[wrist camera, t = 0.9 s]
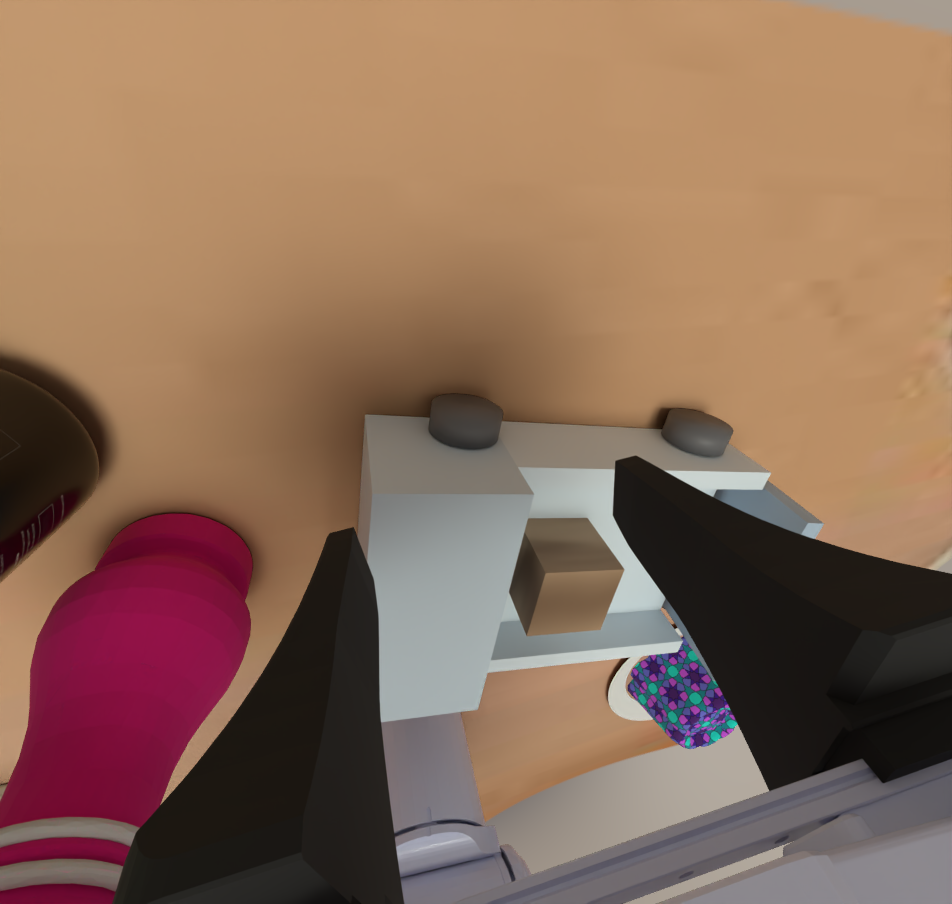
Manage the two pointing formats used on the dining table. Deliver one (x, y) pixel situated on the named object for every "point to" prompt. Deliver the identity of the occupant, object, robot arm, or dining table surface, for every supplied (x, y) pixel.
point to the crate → (563, 577)
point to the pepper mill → (120, 702)
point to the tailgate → (767, 507)
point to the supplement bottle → (39, 468)
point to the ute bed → (506, 539)
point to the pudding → (673, 697)
